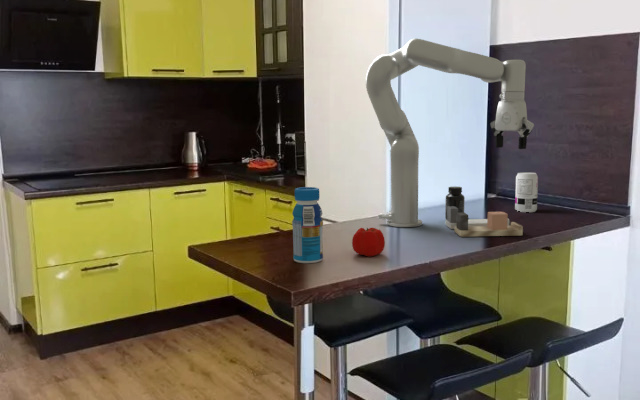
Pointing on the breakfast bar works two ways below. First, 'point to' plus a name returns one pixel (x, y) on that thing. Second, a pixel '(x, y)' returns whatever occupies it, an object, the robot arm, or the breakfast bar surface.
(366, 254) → the tomato
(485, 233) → the birch strip
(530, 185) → the supplement can
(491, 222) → the terracotta block
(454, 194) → the supplement bottle
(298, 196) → the beverage bottle
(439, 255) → the breakfast bar surface
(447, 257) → the breakfast bar surface
